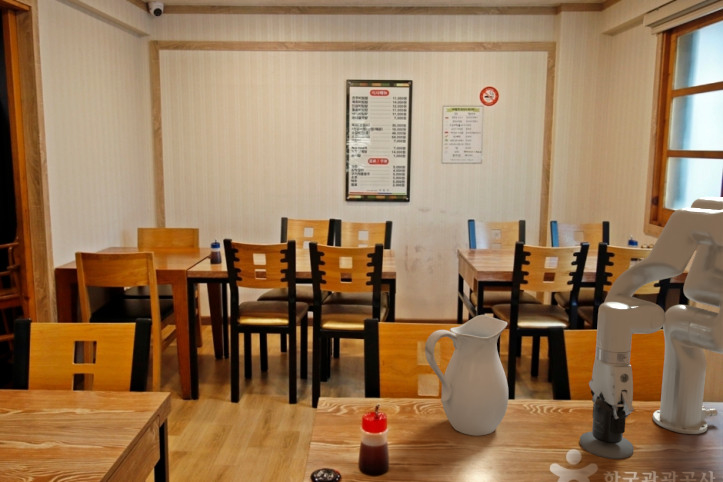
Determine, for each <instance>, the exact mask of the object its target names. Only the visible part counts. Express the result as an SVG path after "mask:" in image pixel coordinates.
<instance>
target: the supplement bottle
mask: <svg viewBox="0 0 723 482" xmlns="http://www.w3.org/2000/svg"><path fill="white" fill-rule="evenodd" d="M599 397H600V398H598V399H596V400H595V402H594V413H593V412H592V429H591V430H592V434H593V436H594V437H595V438H596V439H597V440H599V441H601V442H605V443H611V444H614V443H619V442H620V441H621V440H622V437H623V438H624V435H623V434H624V433H618V434H613V433H611V424H612V417H614V414H613V409H612V405H610V404H609V403H607V402H606V401H604V400H605V398H604V396H603V395H602V393H600V395H599ZM618 404H621V403H620V402H618ZM617 409H618V412H619V411H621V407H617Z"/></svg>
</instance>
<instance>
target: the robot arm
mask: <svg viewBox="0 0 723 482" xmlns="http://www.w3.org/2000/svg"><path fill="white" fill-rule="evenodd" d="M695 251H696V252H695ZM694 253H695V254H694ZM693 255H694V256H693ZM692 257H693V260H692V262H691V264H690V267H689V270H688V273H687V276H686V277H685V280H684V284H683V289H682V290H683V294H684V296H685V297H686V298H687V299H688V300H690V301H692V302H695V303H698V304H702V305H707V306H709V307H714V308H718V309H719V311H718V312H716V311H712V310H708V309H705V308H701V307H697V306H693V305H688V304H676V305H672V306H670V307H669V308H668V309H667V310H666V311H664V309H663V307H661V306H660V305H659V304H656V303H655V302H652V301H649V300H648V301H647V300H644V299H640V298H637V297H633V296H634V294H635V293H636V292H637V291H638V290H639V289H641V288H643V286H646V285H647V284H650V283H653V282H656V281H662V280H665V279H670V278H673V277H677V276H680V275H682V274H683V273H684V272H685V270H686V268H687V266H688V264H689V263H690V260H691V259H692ZM596 328H597V329H596V341H595V342H596V343H595V344H596V345H595V356H594V357H595V359H594V363H593V367H592V375H591V379H590V381H589V382H588V385H589V388H590V393H591V396H592V399H591V400H592V403H593V404H592V405H593V406H592V414H593V413H594V402H595V400H596V399H598V398H600V397H599V395H600V393H602V395H603V396H604V398H605V400H604V401H606V402H607V403H609V404H610V405H612V409H613V414H614V417H612V424H611V433H613V434H618V433H623V434H624V433H625V430H626V420H627V418H628V417H629V416H630V415H631V414H632V412H633V411H634V410H635V409H634V406H633V401H634V400H633V399H634V398H633V397H634V396H633V395H634V383H633V382H634V379H633V370H632V365H631V364H630V363H631V352H632V351H631V350H632V336H633V334H634V335H635V334H640V335H642V334H645V335H646V334H647V335H649V334H654V333H657V332H658V331H660V330H661V329H662V330H663V337H664V357H663V358H664V361H663V371H662V384H661V395H660V396H661V397H660V407H659V409H658V410H655V411H654V412H653V414H652V419H653V421H654V423H656V424H657V425H658V426H660V427H662V428H663V429H666V430H669V431H672V432H675V433H679V434H685V435H698V434H703V433H705V432H707V430H708V425H709V424H708V422H707V421H706V420H705V419H707V418H708V417H717V416H718V410H717V409H716V408H707V409H706V407H705V405H703V403H704V393H705V381H706V372H707V359H706V358H707V357H706V354H705V352H704V350H706V351H709V352H712V353H714V354H715V353H716V354H720V355H723V197H719V196H717V197H716V196H705V197H704V196H703V197H700V198H697V199H695V200H694V201H693V202H692V203H691V205H690V207H684V208H683V207H682V208H679V209H676V210H675V211H674V212H672V214H671V215H670V217H669V218H668V220H667V222H666V224H665V225H664V227H663V228H662V230H661V233H660V234H659V236H658V238H657V239H656V242H655V243H654V245H653V247H652V248H651V251H650V253H649V254H648V255H647V257H645V258H644V259H642V260H640V261H638V262H636V263H635V264H633V265H631V266H630V267H629V268H627V269H626V270H625V271H623V272H622V273H620V275H619V276H618V277H617V278H616V279H615V281H613V284H612V286H611V287H610V289H609V291H608V293H607V295H606V297H605V299H604V302H602V303H601V304H600V305H599V307H598V313H597V327H596ZM618 402H620V403H621V404H618ZM617 407H621V411H619V412H618V409H617Z"/></svg>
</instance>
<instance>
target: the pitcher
mask: <svg viewBox="0 0 723 482" xmlns="http://www.w3.org/2000/svg"><path fill="white" fill-rule="evenodd" d="M507 326H508V321H504V320H501V319H499V318H495V317H492V316H489V315H487V314H480V315H476V316H474V317H473V318H471V319H470V320H468V321H466V322H465V323H463V324H461V325H459V326H456V327H455V326H454V327H451V328H450V329H449V330H447V329H438V330H435V331H433V332H432V333H430V335H429V336H428V337H427V340H426V341H425V346H424V353H425V359H426V362H427V363H428V365H429V366H430V368H431V369H432V371H433V372H434V374H435V375H436V376H437V378H438V379H439V380H440V383H441V397H440V402H441V403H442V407H443V408H442V409H443V411H444V413H445V416H446V418H447V420H448V421H449V423H450V425H451V426H452V427H453V429H454V430H456V431H457V432H459V433H461V434H464V435H469V436H473V437H478V436H479V437H480V436H486V435H489V434H492V433H493V432H495V431H496V429H497V428H498V427H499V425H501V423H502V421H503V419H504V417H505V415H506V413H507V409H508V404H509V403H508V402H509V386H508V385H509V384H508V380H507V376H506V373H505V369H504V367H503V364H502V362H501V359H500V356H499V352H498V346H497V343H498V339H499V337H500V335H502V334H501V333H503V331H504V330H505V329H506V328H507ZM442 338H448V339H450V340H452V344H453V347H454V351H453V353H452V356H451V358H450V360H449V362H448V364H447V367H446V369H445V371H444V372H445V373H443V372H442V371H441V368H440V367H439V365H438V364H437V361H436V359H435V347H436V344H437V343H438V342H439V340H440V339H442Z"/></svg>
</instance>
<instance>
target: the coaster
mask: <svg viewBox="0 0 723 482" xmlns="http://www.w3.org/2000/svg"><path fill="white" fill-rule="evenodd" d="M579 444H580V446H581V447H582V449H584V450H586V451H587V452H588V453H590V454H592V455H594V456H597V457H601V458H606V459H612V460H613V459H614V460H615V459H616V460H620V459H621V460H622V459H627V458H630V457H631V456H632V455H633V454H634V445H633V444H632V442H631V441H630V440H629V439H627V438H625V437H624V436H623V437H622V440H621V441H620V442H619V443H614V444H611V443H605V442H601V441H599V440H597V439H596V438H595V437H594V436H593V434H592V431H587V432H584V433H583V434H581V435H580V437H579Z"/></svg>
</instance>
